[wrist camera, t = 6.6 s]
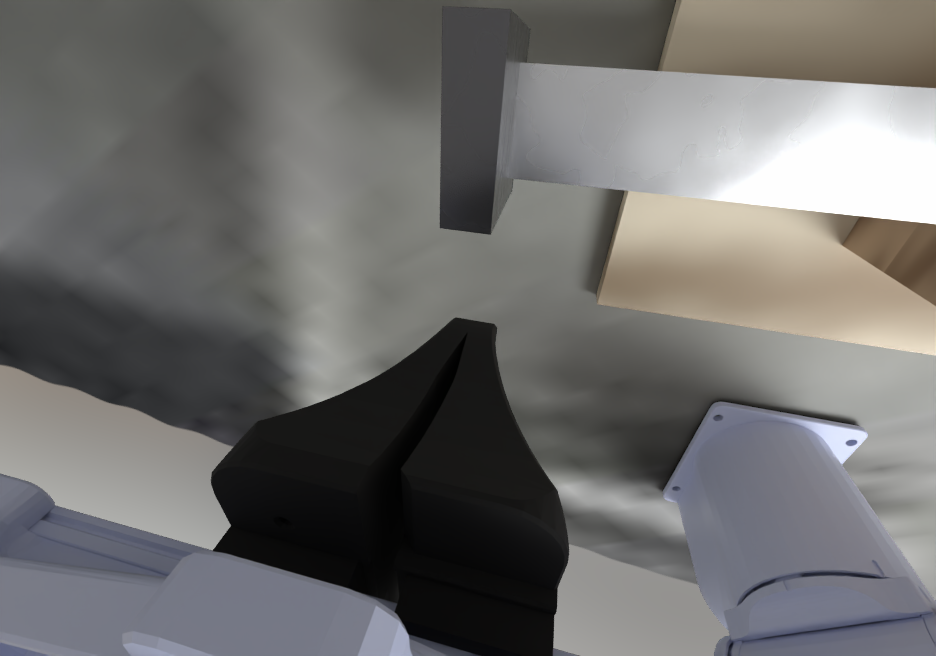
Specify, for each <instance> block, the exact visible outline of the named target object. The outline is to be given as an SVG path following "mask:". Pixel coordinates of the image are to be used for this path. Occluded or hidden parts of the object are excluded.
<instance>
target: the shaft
mask: <svg viewBox="0 0 936 656" xmlns="http://www.w3.org/2000/svg"><path fill="white" fill-rule="evenodd" d="M529 38H530V28H529V27H528V26H527V25H526V24H525V23H524V22H523V21H522V20H521V19H520V18H519V17H518V16H517V15H516V14H515V13H514V12H513V11H512V10H511V9H493V8H469V7H445V6H443V21H442V99H441V177H440V228H444V229H451V230H459V231H467V232H474V233H482V234H490V235H491V233H492V231H493V229H494V227H495V225H496V223H497V220H498V218H499V216H500V214H501V212H502V210H503V208H504V206H505V204H506V202H507V200H508V198H509V196H510V194H511V192H512V187H513V179H522V180H531V181H541V182H550V183H559V184H569V185H578V186H587V187H597V188H606V189H615V190H625V191H634V192H643V193H653V194H662V195H671V196H681V197H690V198H699V199H709V200H718V201H727V202H736V203H746V204H755V205H764V206H774V207H783V208H792V209H802V210H811V211H820V212H830V213H839V214H848V215H858V216H867V217H876V218H886V219H895V220H904V221H913V222H923V223H932V224H936V88H921V87H905V86H889V85H873V84H857V83H841V82H825V81H809V80H793V79H777V78H761V77H745V76H729V75H713V74H697V73H681V72H665V71H649V70H633V69H617V68H601V67H585V66H569V65H552V64H536V63H527V55H528V47H529Z"/></svg>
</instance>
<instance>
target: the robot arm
mask: <svg viewBox="0 0 936 656" xmlns="http://www.w3.org/2000/svg"><path fill="white" fill-rule="evenodd" d="M496 334H497V327H496V326H495V324H491V323H485V322H479V321H473V320H467V319H462V318H454V319H453V320H451V321H450V322H449V323H448V324H447V325H446V326H445V327H444V328H442V329H441V330H440V331H439V332H438V333H437V334H436V335H434V336H433V337H432V338H431V339H430V340H428V341H427V342H426V343H425V344H423V345H422V346H421V347H420V348H418V349H417V350H416V351H415V352H413V353H412V354H410V355H409V356H408V357H406V358H405V359H403V360H402V361H401V362H399V363H398V364H396V365H395V366H393V367H392V368H390V369H388V370H387V371H385V372H384V373H382V374H380V375H378V376H377V377H375V378H373V379H371V380H369V381H367V382H365V383H363V384H361V385H359V386H357V387H355V388H352V389H350V390H348V391H346V392H344V393H342V394H340V395H337V396H335V397H332V398H330V399H327V400H325V401H322V402H319V403H316V404H314V405H311V406H308V407H305V408H302V409H299V410H296V411H292V412H289V413H286V414H282V415H279V416H275V417H272V418H268V419H265V420H261V421H258V422H257V423H256V424H255V425H254V426H253V427H252V428H251V429H250V430H249V431H248V432H247V433H246V434H245V435H244V436H243V437H242V438H241V439H240V440H239V442H238V443H237V444H236V445H235V446H234V447H233V448H232V450H231V451H230V452H229V453H228V454H227V455H226V456H225V458H224V459H223V460H222V461H221V462H220V463H219V464H218V466H217V467H216V468H215V469H214V471H213V472H212V477H211V485H212V488H213V491H214V494H215V496H216V498H217V500H218V501H219V503H220V505H221V507H222V509H223V511H224V513H225V515H226V517H227V519H228V521H229V523H230V524H231V527H230V528H229V529H228V531H227V532H226V533H225V535H224V536H223V537H222V539H221V540H220V542H219V543H218V544H217V546H216V547H215V548H214V549H213V551H212V550H209V549H205V548H202V547H198V546H195V545H191V544H188V543H184V542H181V541H177V540H174V539H170V538H167V537H163V536H159V535H156V534H153V533H149V532H146V531H142V530H139V529H136V528H132V527H128V526H125V525H122V524H118V523H114V522H111V521H107V520H104V519H100V518H97V517H93V516H90V515H87V514H83V513H80V512H76V511H73V510H69V509H66V508H62V507H59V506H55V502H54V501H53V499H52V498H51V497H50V496H49V495H48V494H47V493H46V492H45V491H44V490H43V489H41V488H40V487H38V486H37V485H35V484H33V483H30V482H28V481H24V480H21V479H18V478H14V477H10V476H7V475H3V474H0V656H579V655H575V654H571V653H568V652H565V651H561V650H558V649H554V648H553V638H554V615H555V614H556V609H557V588H558V585H559V583H560V580H561V578H562V575H563V573H564V571H565V568H566V566H567V563H568V556H569V543H568V535H567V529H566V523H565V518H564V514H563V510H562V506H561V502H560V499H559V495H558V491H557V489H556V488H555V486H554V485H553V484H552V482H551V481H550V479H549V478H548V477H547V475H546V474H545V472H544V470H543V469H542V467H541V466H540V464H539V463H538V461H537V459H536V458H535V456H534V454H533V453H532V451H531V449H530V448H529V446H528V444H527V442H526V440H525V438H524V436H523V434H522V432H521V430H520V428H519V426H518V424H517V422H516V420H515V417H514V415H513V413H512V410H511V408H510V405H509V402H508V400H507V397H506V394H505V391H504V387H503V384H502V380H501V376H500V372H499V367H498V362H497V356H496V346H495V342H496ZM716 415H720V416H716ZM867 436H868V433H867V432H866V431H865V429H864V428H862V427H860V426H856V425H850V424H845V423H839V422H834V421H828V420H822V419H817V418H811V417H806V416H800V415H794V414H789V413H783V412H778V411H772V410H767V409H761V408H755V407H750V406H744V405H739V404H733V403H727V402H716V403H714V404H712V406H711V407H710V409H709V410H708V412H707V414H706V416H705V418H704V419H703V421H702V423H701V425H700V426H699V428H698V430H697V432H696V434H695V435H694V437H693V439H692V441H691V442H690V444H689V446H688V448H687V449H686V451H685V453H684V455H683V457H682V458H681V460H680V462H679V464H678V465H677V467H676V469H675V471H674V473H673V474H672V476H671V478H670V480H669V481H668V483H667V485H666V487H665V488H664V490H663V497H664V498H665V499H666V500H668V501H672V502H677V503H678V505H679V509H680V513H681V518H682V522H683V526H684V530H685V534H686V538H687V542H688V546H689V550H690V554H691V558H692V562H693V566H694V570H695V574H696V578H697V582H698V585H699V588H700V591H701V593H702V596H703V597H704V600H705V601H706V603H707V605H708V606H709V608H710V609H711V611H712V612H713V613H714V615H715V616H716V617H717V619H718V620H719V621H720V622H721V623H722V624H723V626H724V627H726V629H727V630H729V634H730V636H725V637H723V638H722V639H720V640H719V641H718V643H717V645H716V648H715V652H714V656H936V600H935V599H934V598H933V597H932V595H931V594H930V592H929V591H928V590H927V588H926V587H925V585H924V584H923V582H922V581H921V579H920V578H919V576H918V575H917V574H916V572H915V571H914V569H913V568H912V566H911V565H910V563H909V562H908V560H907V559H906V557H905V556H904V555H903V553H902V552H901V550H900V549H899V547H898V546H897V544H896V543H895V541H894V540H893V539H892V537H891V536H890V534H889V533H888V531H887V530H886V528H885V527H884V525H883V524H882V523H881V521H880V520H879V518H878V517H877V515H876V514H875V512H874V511H873V509H872V508H871V506H870V505H869V504H868V502H867V501H866V499H865V498H864V496H863V495H862V493H861V492H860V490H859V489H858V488H857V486H856V485H855V483H854V482H853V480H852V479H851V477H850V476H849V474H848V473H847V472H846V470H845V469H844V467H843V466H842V464H843V463H844V461H845V460H846V459H847V458H848V457H849V456H850V455H851V454H852V453H853V452H854V451H855V450H856V449H857V448H858V447H859V445H860V444H861V443H862V442H863V441H864V440H865V439H866V438H867Z"/></svg>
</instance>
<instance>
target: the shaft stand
mask: <svg viewBox="0 0 936 656" xmlns="http://www.w3.org/2000/svg"><path fill="white" fill-rule="evenodd" d="M657 71H665V72H681V73H697V74H713V75H729V76H745V77H761V78H777V79H793V80H809V81H825V82H841V83H857V84H873V85H889V86H905V87H921V88H936V0H676V4H675V7H674V11H673V15H672V18H671V22H670V26H669V30H668V33H667V37H666V41H665V44H664V48H663V52H662V55H661V59H660V63H659V66H658V70H657ZM596 298H597V304H599V305H605V306H612V307H618V308H625V309H632V310H638V311H645V312H652V313H658V314H665V315H671V316H678V317H685V318H691V319H698V320H705V321H711V322H718V323H724V324H731V325H738V326H744V327H751V328H758V329H764V330H771V331H777V332H784V333H791V334H797V335H804V336H811V337H817V338H824V339H830V340H837V341H844V342H850V343H857V344H863V345H870V346H877V347H883V348H890V349H897V350H903V351H910V352H916V353H923V354H930V355H936V224H932V223H923V222H913V221H904V220H895V219H886V218H876V217H867V216H858V215H848V214H839V213H830V212H820V211H811V210H802V209H792V208H783V207H774V206H764V205H755V204H746V203H736V202H727V201H718V200H709V199H699V198H690V197H681V196H671V195H662V194H653V193H643V192H634V191H624V195H623V199H622V202H621V206H620V210H619V213H618V217H617V221H616V224H615V228H614V232H613V235H612V239H611V243H610V247H609V250H608V254H607V258H606V261H605V265H604V269H603V272H602V276H601V280H600V283H599V287H598V291H597V294H596Z"/></svg>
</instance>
